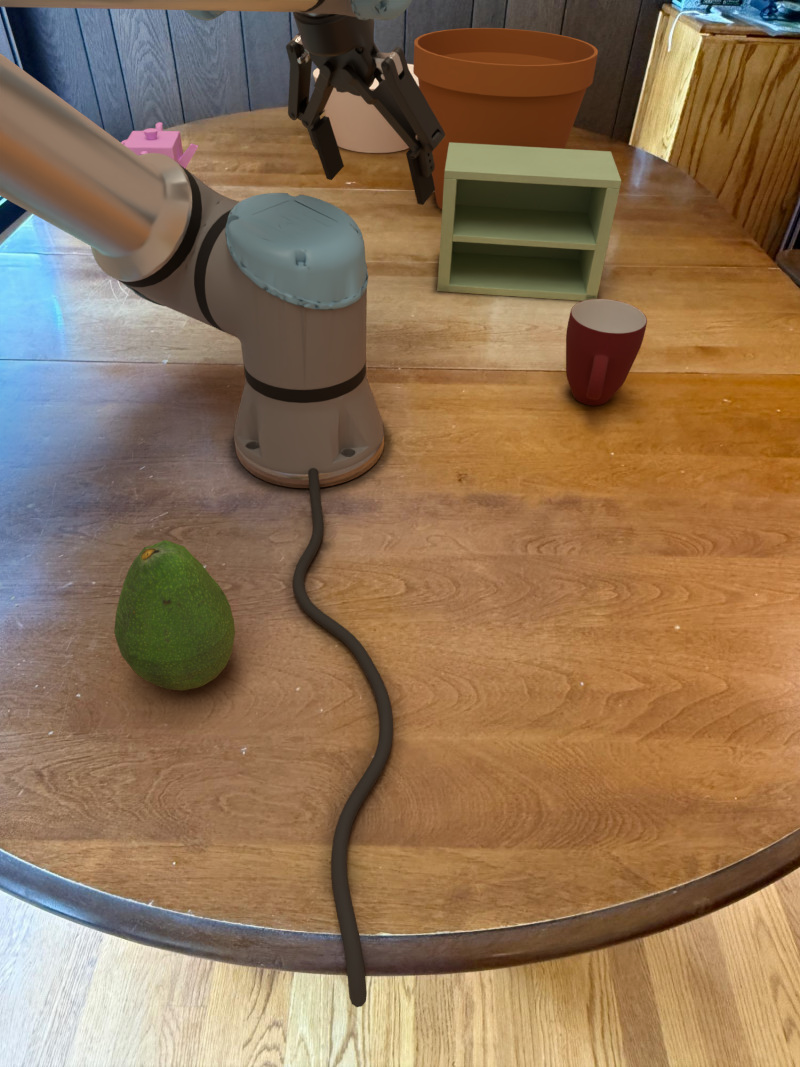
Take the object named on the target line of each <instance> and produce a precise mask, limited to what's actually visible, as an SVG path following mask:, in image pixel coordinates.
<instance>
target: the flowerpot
mask: <svg viewBox="0 0 800 1067" xmlns="http://www.w3.org/2000/svg"><path fill="white" fill-rule="evenodd" d="M413 44H414V45H413V65H414V68H413V73H414V74H415V75H416V77H418V82H419V88H420V90H421V92H422V94H423V95H424V97H425V99H426V101H427V102H428V104H429V106H430V108H431V109H432V111H433V113H434V115H435V116H436V118H437V120H438V122H439V123H440V125H441V127H442V129H443V130H444V132H445V137H444V138H443V139H442V141H441V142H440V143H439V144H438V145H437V147H436V148H435V149H434V150H433V151H432V154H433V159H434V164H435V168H434V171H433V172H432V176H433V181H434V186H435V191H434V196H435V202H436V203H435V204H436V205H437V207H438V208H439V209H440V210H442V205H443V189H444V173H445V165H446V159H447V153H448V146H449V142H452V143H469V144H487V145H505V146H522V147H540V148H558V149H566V146H567V144H568V141H569V138H570V136H571V132H572V130H573V127H574V124H575V121H576V119H577V116H578V113H579V110H580V108H581V105H582V102H583V99H584V97H585V95H586V92H587V90H588V89H587V88H589V87H591V85H593V83H594V77H595V70H596V65H597V60H598V53H599V50H598V49H597V47H596V46H594V45H593V44H591V43H589V42H587V41H584V40H581V39H578V38H574V37H572V36H567V35H562V34H556V33H551V32H544V31H537V30H528V29H516V28H502V27H501V28H499V27H498V28H497V27H469V28H468V27H467V28H454V29H453V28H452V29H444V30H437V31H431V32H428V33H424V34H421V35H419V36H417V37H416V38H415V39H414V42H413Z"/></svg>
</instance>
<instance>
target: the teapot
mask: <svg viewBox="0 0 800 1067" xmlns="http://www.w3.org/2000/svg"><path fill="white" fill-rule="evenodd" d="M163 128H164V127H163V122H160V121H159V122H157V123H155V127H154V128H153V127H152V128H151V127H150V128H145V129H143V130H132V131H131V133H130V134H129V136H128V138H127V139H123V140H122V141H120V142H121V143H122V144H123V145H125V146H126V147H127V148H129V149H130V150H131V151H133V152H134V153H135V154H137V155H138V156H139V155H142V154H146V153H159V154H163V155H166V156H168V157H170V158H172V159H173V160H175V161H176V162H177V163H179V164H180V165H181V166H182V167H184V168H185V169H186V170H187V167H188V166H189V163H190V162H191V160H192V159H193V157H194V155H195V153H196V152H197V150H198V147H199V145H198V144H194V143H190V144H189V146H188V147H187V148H186V149H185V151H184V149H183V142H182V136H181V131H180V130H164V129H163Z"/></svg>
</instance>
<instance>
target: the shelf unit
mask: <svg viewBox="0 0 800 1067" xmlns="http://www.w3.org/2000/svg"><path fill="white" fill-rule="evenodd" d="M621 185H622V179H621V176H620V173H619V170H618V167H617V164H616V162H615V159H614V156H613V154H612V151H610V150H609V151H608V150H593V149H591V150H590V149H574V148H565V149H558V148H540V147H522V146H505V145H487V144H469V143H452V142H449V146H448V153H447V159H446V165H445V173H444V189H443V205H442V209H441V221H440V222H441V223H440V238H439V256H438V271H437V285H436V286H437V288H436V291H437V292H444V293H457V294H458V293H459V294H471V295H472V294H474V295H486V296H487V295H489V296H503V297H504V296H505V297H519V298H534V299H546V300H547V299H549V300H562V301H563V300H564V301H577V302H578V301H579V302H581V301H585V300H590V299H598V295H599V290H600V285H601V281H602V277H603V276H602V275H603V271H604V267H605V262H606V257H607V253H608V248H609V242H610V238H611V234H612V229H613V228H612V227H613V223H614V218H615V213H616V210H617V204H618V201H619V200H618V199H619V195H620V189H621Z"/></svg>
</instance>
